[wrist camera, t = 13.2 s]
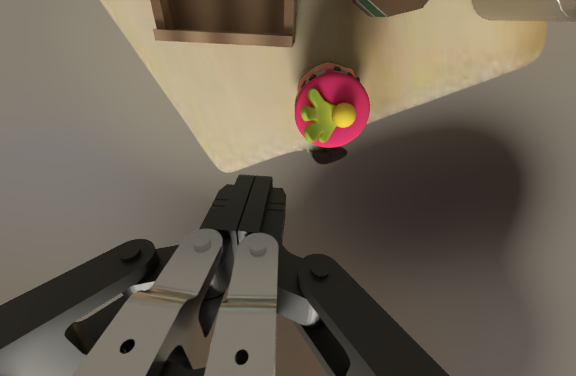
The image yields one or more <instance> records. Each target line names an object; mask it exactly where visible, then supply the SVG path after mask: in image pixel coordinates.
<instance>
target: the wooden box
mask: <svg viewBox="0 0 576 376" xmlns="http://www.w3.org/2000/svg"><path fill="white" fill-rule="evenodd" d="M150 1H151V5H152V9H153V14H154V18H155V23H156V27H157V29H153V31H154V36H155V40H160V41H179V42H199V43H218V44H238V45H257V46H276V47H292V46H293V44H294V43H295V27H296V5H297V0H150Z"/></svg>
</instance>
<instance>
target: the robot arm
mask: <svg viewBox="0 0 576 376" xmlns="http://www.w3.org/2000/svg"><path fill="white" fill-rule="evenodd" d="M472 3H473V6H474V9H475V10H476V12H477V13H478V14H479V15H480V16H481V17H483V18H485V19H488V20H506V21H548V22H549V21H550V22H576V0H472ZM272 182H273V179H272V177H269V176H254V175H239V176H238V178H237V180H236V183H235V185H228V184H227V185H226V186H224V187H223V188H222V189H221V190H220V191H219V192H218V194H217V196H216V198H215V200H214V202H213V204H212V206H211V208H210V209H209V211H208V213H207V215H206V217H205V219H204V221H203V223H202V225H201V227H200V229H199V230H196V231H194V232H192V233H190V234H188V235H187V236H186V237H185V238H184V239H183V240H182V242H181V243H180V244H179V245H176V246H170V247H165V248H159V249H155V246H154V245H153V243H152V242H151V241H149V240H146V239H135V240H131V241H128V242H125V243H123V244H121V245H119V246H117V247H115V248H113V249H111V250H109V251H107V252H105V253H103V254H101V255H99V256H97V257H96V258H94V259H91V260H89V261H87V262H86V263H84V264H82V265H80V266H78V267H76V268H74V269H72V270H70V271H68V272H66V273H64V274H62V275H60V276H58V277H56V278H54V279H52V280H50V281H48V282H46V283H44V284H42V285H40V286H38V287H36V288H34V289H32V290H30V291H28V292H26V293H24V294H22V295H20V296H18V297H16V298H14V299H12V300H10V301H8V302H6V303H4V304H2V305H0V376H275V352H276V321H277V313H278V314H280V315H282V316H284V317H287V318H289V319H291V320H293V321H294V323H295V325H296V327H297V329H298V330H299V332H300V333H301V335H302V336H303V338H304V339H305V341H306V342H307V344H308V345H309V347H310V348H311V350H312V351H313V353H314V354H315V356H316V357H317V359H318V360H319V362H320V363H321V365H322V366H323V368H324V369H325V371H326V372H327V374H328V375H329V376H449V375H448V374H447V373H446V372H445V371H444V370H443V369H442V368H441V367H440V366H439V365H438V364H437V363H436V362H435V361H434V360H433V359H432V358H431V357H430V356H429V355H428V354H427V353H426V352H425V351H424V350H423V349H422V348H421V347H420V346H419V345H418V344H417V343H416V342H415V341H414V340H413V339H412V338H411V337H410V336H409V335H408V334H407V333H406V332H405V331H404V330H403V329H402V328H401V327H400V326H399V324H398V323H397V322H395V320H394V319H393V318H391V316H390V315H389V314H388V313H387V312H386V311H384V309H382V307H381V306H380V305H379V304H378V303H377V302H376V301H375V300H374V299H373V298H372V297H371V296H370V295H369V294H368V293H367V292H366V291H365V290H364V289H363V288H362V287H361V286H360V285H359V284H358V283H357V282H356V281H355V280H354V279H353V278H352V277H351V276H350V275H349V274H348V273H347V272H346V271H345V270H344V269H343V268H342V267H341V266H340V265H339V264H338V263H337V262H336V261H335V260H334V259H332V258H331V257H329V256H326V255H323V254H311V255H308V256H306V257H304V258H301V257H298V256H295V255H293V254H291V253H290V252H288V251H287V250H286V249H285V248H284V246H283V245H282V243H283V234H284V226H285V211H286V209H285V208H286V194H285V192H284V190H283V188H273V183H272ZM120 293H122V294H123V295H124V296H122V297H121V298H119V299H117V300H116V301H114V302H112V303H111V304H109V305H108V306H106V307H105V308H103V309H101V310H100V311H98V312H97V313H95V314H93V315H92V316H90V317H89V318H87V319H85V320H83V321H80V322H75V321H76V320H78V319H79V318H81V317H82V316H84V315H86V314H88V313H89V312H91V311H92V310H94V309H96V308H97V307H99V306H100V305H102V304H104V303H105V302H107V301H109V300H110V299H112V298H113V297H115V296H117V295H118V294H120ZM212 338H213V339H212ZM211 341H212V344H211ZM210 345H211V348H210Z"/></svg>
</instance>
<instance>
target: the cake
mask: <svg viewBox="0 0 576 376" xmlns="http://www.w3.org/2000/svg"><path fill="white" fill-rule="evenodd" d="M369 112H370V103H369V98H368V95H367V93H366V91H365V89H364V87H363V86H362V84H361V83H360V79H359V78H358V77H357V78H356V77H355V74H354V72H353V70H352V69H351V68H347V67H343V66H342V65H339V64H335V63H325V62H324V63H322V64H320V65H318V66H315V67H313V68H312V69H311V70H310V71H309V72H308V73H306V74H305V75H304V76H303V77H302V78H301V79H300V82H299V86H298V93H297V96H296V100H295V120H296V124H297V127H298V129H299V131H300V132H301V134H302V135H303V136H304V137H305V139H306V140H307V141H308V142H311V143H313V144H315V145H318V146H321V147H338V146H342V145H344V144H346V143H348V142H350V141H352V140H353V139H354V138H356V137H357V136H358V135H359V134H360V133H361V131H362V130H363V128H364V127H365V125H366V123H367V120H368V117H369Z"/></svg>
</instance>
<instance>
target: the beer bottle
mask: <svg viewBox="0 0 576 376" xmlns="http://www.w3.org/2000/svg"><path fill="white" fill-rule="evenodd" d="M427 2H428V0H353V3H354V4H356V5H357V6H358V7H359V8H360V9H361V10H362V11H364V12H365V13H366V14H367V15H368V16H370V17H389V16H393V15H397V14H401V13H405V12H409V11H413V10H417V9H420V8H423V7H424V5H425V4H426V3H427Z"/></svg>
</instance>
